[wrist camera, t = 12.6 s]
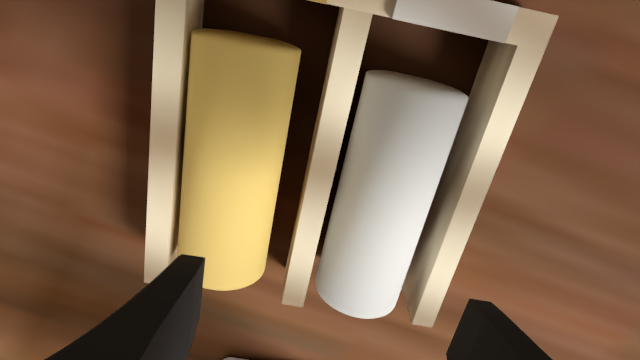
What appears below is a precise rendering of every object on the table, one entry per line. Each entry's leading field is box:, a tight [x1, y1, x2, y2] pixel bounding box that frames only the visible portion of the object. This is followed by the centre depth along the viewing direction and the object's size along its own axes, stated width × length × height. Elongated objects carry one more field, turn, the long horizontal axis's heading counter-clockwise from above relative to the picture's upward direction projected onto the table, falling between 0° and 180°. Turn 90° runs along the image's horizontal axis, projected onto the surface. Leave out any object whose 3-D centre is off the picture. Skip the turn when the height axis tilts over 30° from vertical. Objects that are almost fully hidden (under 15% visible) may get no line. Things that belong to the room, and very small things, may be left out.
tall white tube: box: [315, 70, 468, 319], centre depth 19 cm, size 10×4×4 cm, turn 168°
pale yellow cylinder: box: [177, 29, 301, 291], centre depth 18 cm, size 10×4×4 cm, turn 169°
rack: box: [144, 0, 559, 327], centre depth 18 cm, size 14×14×3 cm
